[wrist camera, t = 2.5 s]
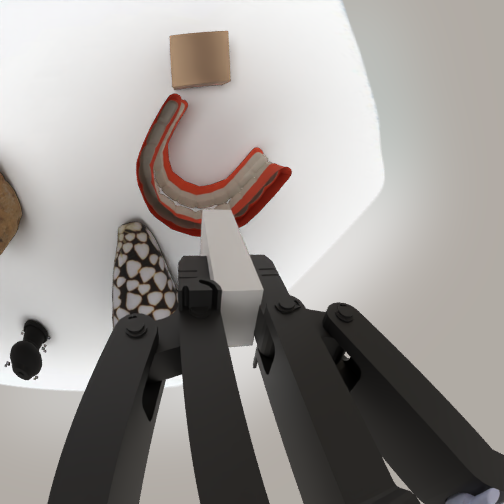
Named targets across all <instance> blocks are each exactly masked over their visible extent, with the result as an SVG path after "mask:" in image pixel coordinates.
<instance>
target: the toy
mask: <svg viewBox="0 0 504 504" xmlns="http://www.w3.org/2000/svg"><path fill="white" fill-rule="evenodd" d="M187 107H188V103H187V102H186V101H185V100H181V97H180V95H178V94H171V95H170V96H169V97H168V98H167V100H166V101H165V103H164V104H163V106H162V107H161V109H160V111H159V113H158V114H157V116H156V118H155V120H154V121H153V123H152V125H151V127H150V129H149V131H148V134H147V136H146V138H145V140H144V142H143V145H142V147H141V150H140V153H139V156H138V159H137V163H136V175H137V182H138V186H139V188H140V191H141V193H142V196H143V198H144V201H145V203H146V205H147V207H148V209H149V211H150V212H151V213H152V215H154V216H155V217H156V218H157V219H159V220H160V221H161V222H163V223H164V224H165V225H167V226H168V227H169V228H171V229H173V230H176V231H179V232H182V233H185V234H188V235H192V236H197V237H201V224H202V210H199V211H197V212H194V211H193V210H191V209H189V208H186V207H183V206H176V205H175V203H174V202H173V201H171V200H170V199H169V198H171V199H172V200H174V201H177V202H178V203H179V204H181V205H184V206H187V207H191V208H195V207H197V208H207V207H211V206H213V205H214V204H215V205H218V206H216V207H215V208H214V210H231V211H232V213H233V216H234V218H235V221H236V223H237V225H238V228H240V227H242V226H244V225H245V224H247V223H248V222H249V221H250V220H251V219H252V218H253V217H254V216H256V215H257V214H258V213H259V212H260V211H261V210H262V208H263V207H264V206H265V205H266V204H267V203H268V202H269V201H270V200H271V199H272V198H273V197H274V195H275V194H276V193H277V192H278V191H279V190H280V188H281V187H282V186H283V185H284V184H285V182H286V181H287V180H288V179H289V177H290V176H291V174H292V171H291V169H290V168H289V167H283V166H280V165H277V164H275V163H274V164H273V163H271V162H268V158H267V157H266V156H264V155H263V151H262V150H261V149H260V148H257V147H256V148H254V149H253V150H252V151H251V152H250V153H249V154H248V156H247V157H246V158H245V159H244V160H243V161H242V163H241V164H240V165H239V166H238V167H237V168H236V169H235V170H234V171H233V173H232V174H231V175H230V176H229V177H228V178H227V179H225V180H222V181H220V182H217V183H214V184H211V185H206V186H197V185H194V184H191V183H189V182H186V181H184V180H183V179H182V178H180V177H179V176H178V175H177V174H175V173H174V172H173V171H172V168H171V165H170V162H169V156H168V143H169V141H170V138H171V136H172V134H173V132H174V130H175V128H176V126H177V124H178V122H179V120H180V119H181V117H182V116H183V114H184V112H185V111H186V109H187ZM154 171H155V178H156V180H155V178H154ZM254 177H255V178H254ZM156 181H157V182H156ZM157 183H158V185H159V187H160V188H162V191H163V192H164V193H165V194H166V195H167V196H168V197H169V198H168V197H166V196H165V195H163V194H160V191H159V188H158V185H157ZM241 188H242V189H241ZM230 198H232V199H231V200H230V201H229V203H228V204H227V203H226V202H227V201H228V200H229V199H230ZM223 203H224V204H223Z"/></svg>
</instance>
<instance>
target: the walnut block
mask: <svg viewBox="0 0 504 504" xmlns="http://www.w3.org/2000/svg"><path fill="white" fill-rule="evenodd" d="M170 56H171V74H172V87H173V88H174V90H178V89H185V88H193V87H202V86H213V85H223V84H226V83H228V82H230V81H231V79H230V60H229V39H228V31H215V32H200V33H189V34H181V35H173V36H170Z"/></svg>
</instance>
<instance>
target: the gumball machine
mask: <svg viewBox="0 0 504 504" xmlns="http://www.w3.org/2000/svg"><path fill="white" fill-rule="evenodd" d="M22 331H24V332H25V333H24V338H23V341H19V342H17V343H16V344H14V345H13V347H12V349H11V353H10V359H11V363H12V368H13V372H14V373H15V374H16V375H17V376H18V377H20V378H22V379H24V380H30V379H31V378H32V377H33V376H35V375H37V374H38V373H39V372H40V370H41V367H42V358H41V354H40V352H39V349H40V347H41V345H42V344H43V343H45V342H46V341H47V339H50V337H49V336H48V333H47V331H46V330H45V329H44V327H42V326H41V325H40V324H38V323H37V322H34V321H27V322H26V323H25V325H24V329H23V330H22ZM21 334H23V332H22V333H21ZM44 347H46V345H45V344H44ZM44 347H42V350H44V352H46V350H45V348H44ZM7 365H8V366H9V365H10V362H8V361H7V363H6V364H5V367H7ZM36 379H38V376H35V378H34V380H36Z"/></svg>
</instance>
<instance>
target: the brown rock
mask: <svg viewBox="0 0 504 504" xmlns="http://www.w3.org/2000/svg"><path fill="white" fill-rule="evenodd" d="M21 216H22V210H21V206H20V203H19V200H18V198H17V196H16V194H15V191H14V190H13V188H12V187H11V186H10V184H9V183H8V182H7V181H5V180H4V176H3V175H2V174H1V173H0V255H1V254H2V252H3V251H4V250H5V248H6V247H7V245H8V244H9V242H10V241H11V240H12V238H13V237H14V235H15V234H16V232H17V230H18V225H19V222H20V219H21Z"/></svg>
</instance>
